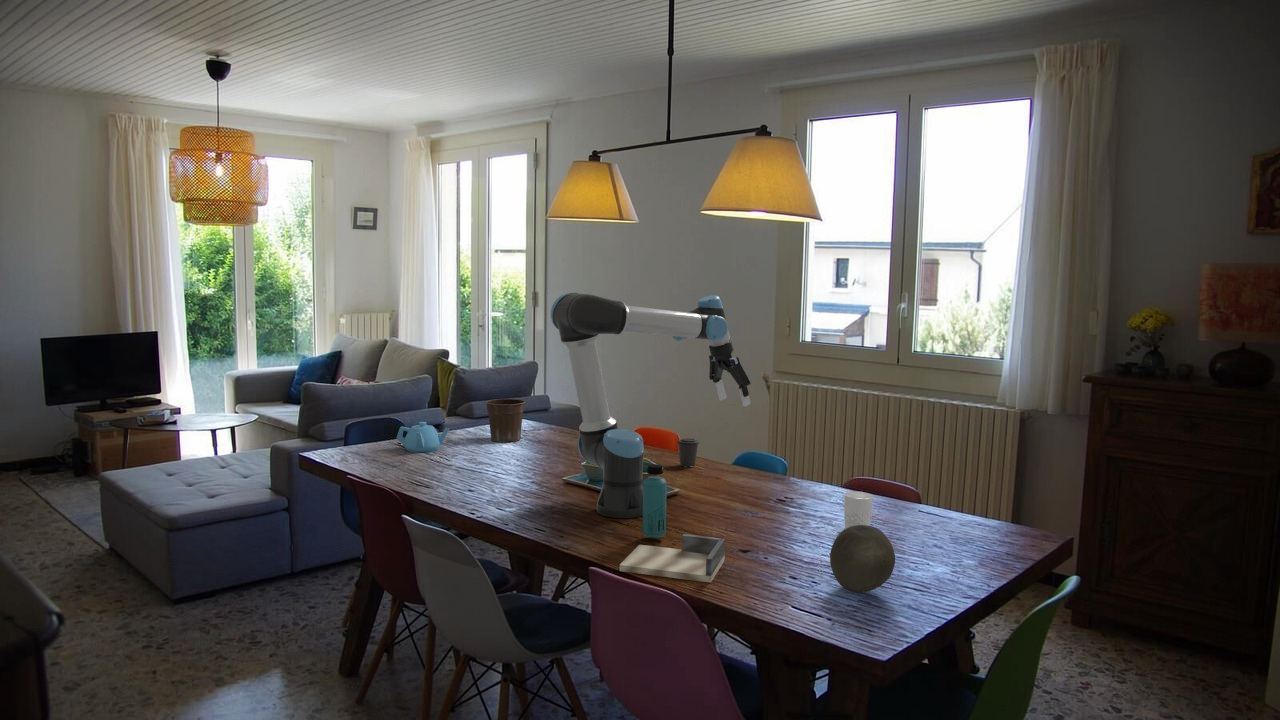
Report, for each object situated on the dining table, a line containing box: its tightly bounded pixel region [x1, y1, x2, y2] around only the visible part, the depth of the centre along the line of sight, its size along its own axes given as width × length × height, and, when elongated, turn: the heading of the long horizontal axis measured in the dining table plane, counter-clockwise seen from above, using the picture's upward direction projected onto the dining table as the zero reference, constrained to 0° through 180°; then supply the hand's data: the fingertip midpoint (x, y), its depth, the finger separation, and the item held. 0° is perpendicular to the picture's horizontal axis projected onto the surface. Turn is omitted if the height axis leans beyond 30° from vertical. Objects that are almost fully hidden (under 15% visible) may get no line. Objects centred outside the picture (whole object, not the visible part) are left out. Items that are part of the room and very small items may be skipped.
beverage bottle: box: [641, 463, 668, 538], centre depth 224 cm, size 6×7×20 cm
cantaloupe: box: [829, 525, 896, 594], centre depth 190 cm, size 14×14×15 cm
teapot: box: [396, 421, 450, 453], centre depth 330 cm, size 15×15×11 cm
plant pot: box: [485, 398, 526, 443], centre depth 352 cm, size 16×16×16 cm
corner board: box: [619, 533, 726, 584], centre depth 205 cm, size 22×16×6 cm
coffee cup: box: [677, 437, 700, 467], centre depth 311 cm, size 8×8×10 cm
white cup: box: [843, 491, 874, 530], centre depth 237 cm, size 8×8×10 cm
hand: (734, 402), depth 283 cm, fingers open, 13 cm apart
